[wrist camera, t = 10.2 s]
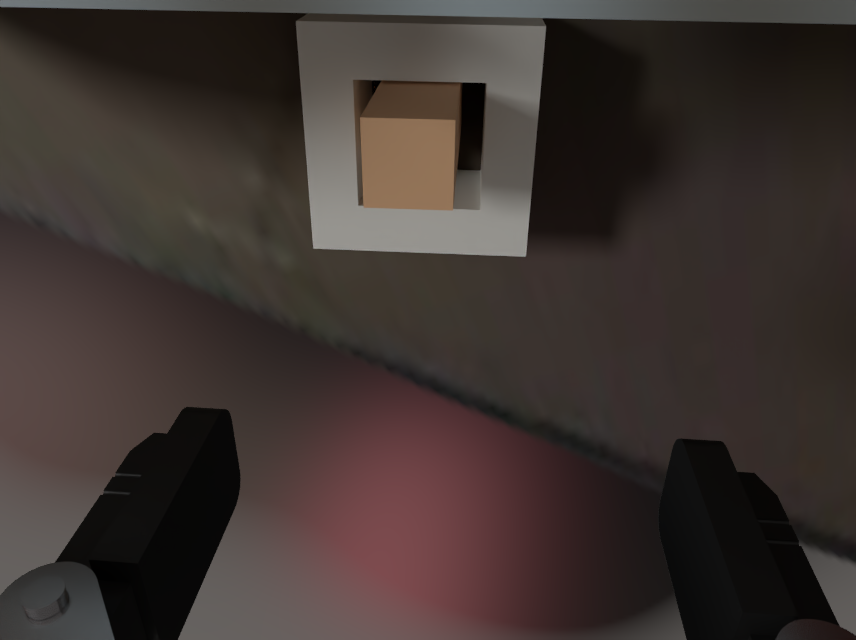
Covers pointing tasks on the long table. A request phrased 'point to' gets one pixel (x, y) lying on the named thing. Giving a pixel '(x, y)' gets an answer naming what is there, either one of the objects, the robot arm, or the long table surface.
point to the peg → (411, 145)
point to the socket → (433, 62)
